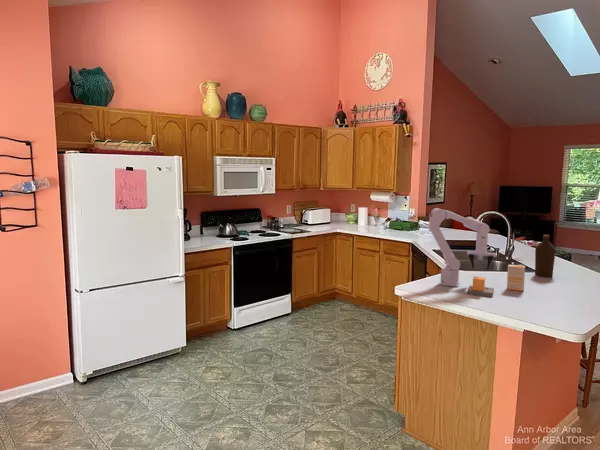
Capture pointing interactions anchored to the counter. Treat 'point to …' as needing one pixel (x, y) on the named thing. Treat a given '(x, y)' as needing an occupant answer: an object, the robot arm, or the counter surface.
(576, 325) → the counter surface
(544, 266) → the olive oil
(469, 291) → the breaker panel
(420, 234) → the counter surface
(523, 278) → the supplement box
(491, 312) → the counter surface
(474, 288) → the cap
